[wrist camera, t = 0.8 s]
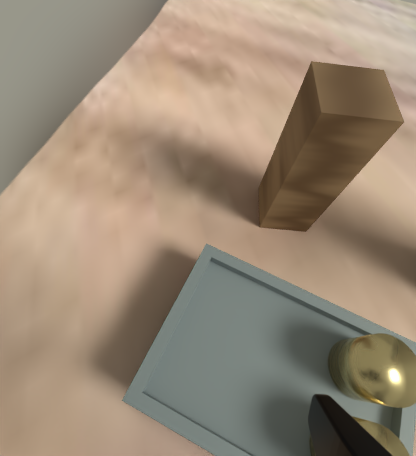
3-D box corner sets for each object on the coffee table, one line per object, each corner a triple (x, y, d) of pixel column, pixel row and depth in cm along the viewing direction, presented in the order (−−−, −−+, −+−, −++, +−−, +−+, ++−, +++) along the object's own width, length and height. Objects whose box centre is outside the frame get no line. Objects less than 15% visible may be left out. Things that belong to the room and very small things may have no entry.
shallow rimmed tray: (384, 348, 21) (421, 345, 18) (358, 526, 16) (403, 567, 13) (203, 261, 24) (206, 243, 20) (133, 394, 19) (121, 400, 15)
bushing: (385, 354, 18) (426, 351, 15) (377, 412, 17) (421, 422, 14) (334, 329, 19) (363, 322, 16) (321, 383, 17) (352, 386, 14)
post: (301, 192, 28) (383, 70, 16) (306, 231, 26) (404, 121, 14) (258, 188, 28) (311, 61, 16) (259, 227, 26) (321, 112, 14)
